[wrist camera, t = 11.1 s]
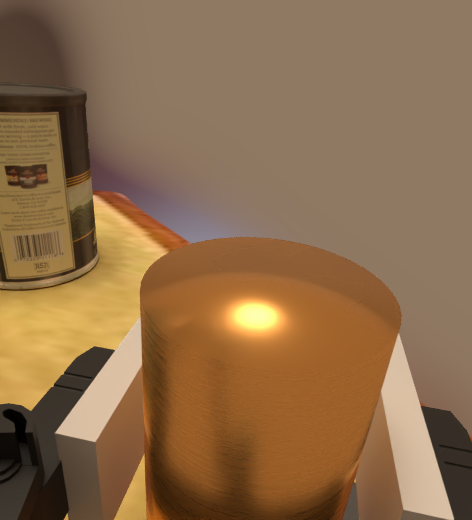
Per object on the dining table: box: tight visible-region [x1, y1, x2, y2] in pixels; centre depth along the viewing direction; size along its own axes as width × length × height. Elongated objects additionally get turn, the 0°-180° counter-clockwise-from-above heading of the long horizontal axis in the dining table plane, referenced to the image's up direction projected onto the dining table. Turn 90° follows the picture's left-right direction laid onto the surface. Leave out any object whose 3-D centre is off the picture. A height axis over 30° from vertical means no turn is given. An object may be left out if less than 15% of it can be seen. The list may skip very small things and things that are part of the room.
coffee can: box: [0, 82, 99, 290], centre depth 33 cm, size 10×10×14 cm
